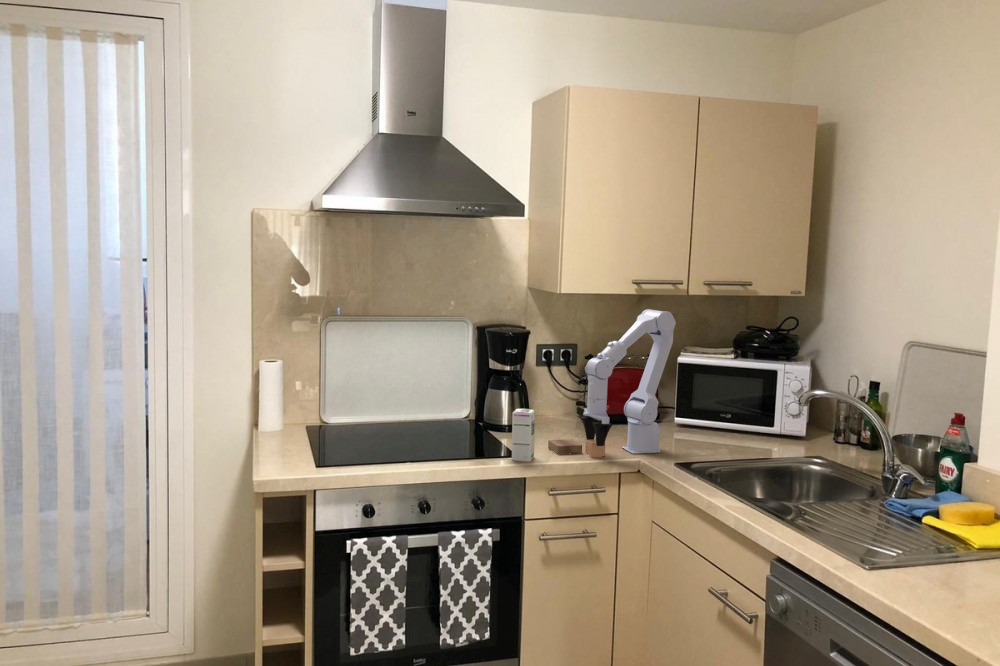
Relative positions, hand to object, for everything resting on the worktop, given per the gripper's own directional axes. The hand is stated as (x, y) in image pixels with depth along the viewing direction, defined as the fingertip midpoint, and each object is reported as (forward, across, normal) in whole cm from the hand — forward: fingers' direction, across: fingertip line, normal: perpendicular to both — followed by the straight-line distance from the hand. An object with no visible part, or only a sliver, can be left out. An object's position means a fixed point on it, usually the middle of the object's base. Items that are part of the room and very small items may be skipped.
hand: (595, 442), depth 251 cm
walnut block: (+4, -7, -7) cm, 11 cm away
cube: (+4, 0, 0) cm, 4 cm away
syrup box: (+4, 0, -23) cm, 23 cm away
